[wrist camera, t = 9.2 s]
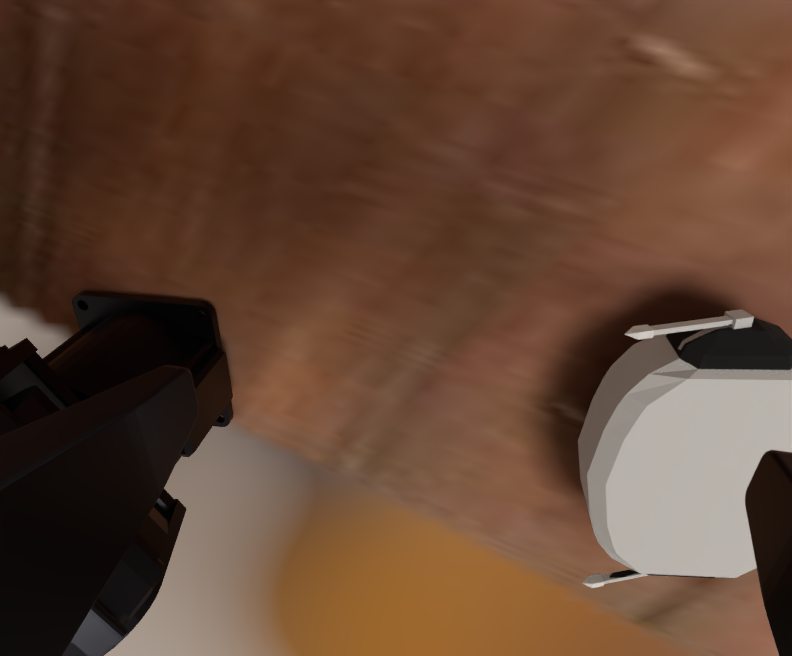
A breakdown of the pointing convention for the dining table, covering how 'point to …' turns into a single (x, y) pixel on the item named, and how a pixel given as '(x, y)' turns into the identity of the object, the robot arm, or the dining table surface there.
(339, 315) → the dining table surface
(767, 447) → the robot toy
